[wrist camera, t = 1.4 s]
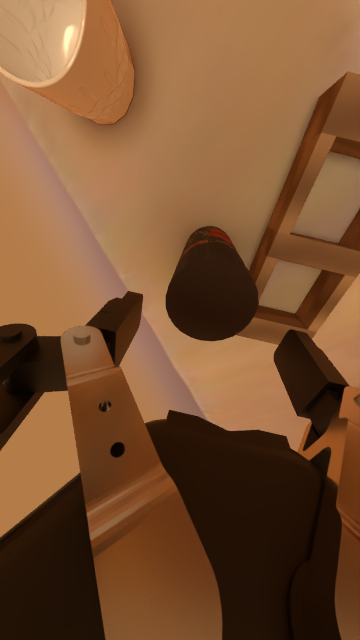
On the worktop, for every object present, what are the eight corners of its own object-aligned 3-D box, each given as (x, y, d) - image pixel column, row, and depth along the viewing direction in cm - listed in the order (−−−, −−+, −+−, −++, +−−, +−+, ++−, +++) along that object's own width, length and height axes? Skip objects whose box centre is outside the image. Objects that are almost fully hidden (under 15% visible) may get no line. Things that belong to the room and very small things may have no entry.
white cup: (95, 150, 21) (21, 119, 13) (39, 50, 18) (-111, -84, 9) (157, 99, 19) (116, 18, 10) (106, -29, 15) (-18, -310, 7)
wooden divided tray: (320, 96, 17) (348, 71, 14) (428, 122, 17) (481, 105, 14) (229, 319, 30) (232, 334, 27) (292, 333, 30) (303, 350, 27)
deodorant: (176, 245, 25) (147, 293, 13) (216, 215, 23) (229, 236, 10) (201, 281, 28) (197, 352, 15) (240, 257, 25) (274, 316, 13)
